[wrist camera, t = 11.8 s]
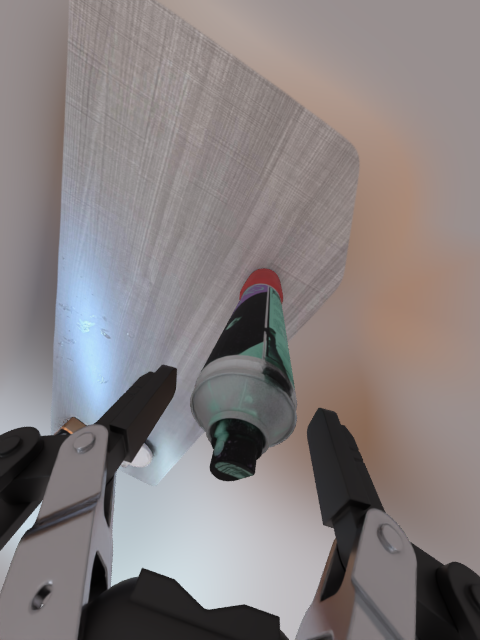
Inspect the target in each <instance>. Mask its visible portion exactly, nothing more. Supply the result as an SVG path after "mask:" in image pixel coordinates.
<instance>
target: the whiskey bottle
mask: <svg viewBox="0 0 480 640" xmlns="http://www.w3.org/2000/svg"><path fill="white" fill-rule="evenodd" d="M85 426H86V425H84V424H83V423H81V422H80V421H79V420H77V419H76V418H73V417H72V418H71V419H70V420H69V421H68V422H67V423H65V424H64V425H63V426H62V427H61V428H60V429H59V430H58V431H57V432H56V433H55V434H54V435H66V434H72V433H74V432H75V431H77V430H79V429H80V428H83V427H85Z"/></svg>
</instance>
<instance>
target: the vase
mask: <svg viewBox="0 0 480 640" xmlns="http://www.w3.org/2000/svg"><path fill="white" fill-rule="evenodd" d="M152 457H153V455H152V452H151V450H150V449H149V447H148V446H147V445H146V444H145V443H144V444H143V445H142V447H141V449H140V450H139V452H138V453H137V455H136V456H135V458H134V460H133V461H132V463H129V462H126V461H123V462H122V463H121V466H122V467H124V468H126V467H127V465H131V466H134V467H145V466H147V465H149V464H150V463H151V461H152Z"/></svg>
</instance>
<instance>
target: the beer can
mask: <svg viewBox="0 0 480 640" xmlns="http://www.w3.org/2000/svg"><path fill="white" fill-rule="evenodd" d="M255 284H267V285H270V286H272V287H273V288H274V289H275V290H276V291H277V292H278V294H279V296H280V298H281V305H282V302H283V293H282V288H281V284H280V280H279V278H278V275H277V274H276V273H275V272H274V271H272V270H270V269H265V268H263V269H258V270H256V271H254V272H253V273H252V274H251V275H250V276H249V278H248V279H247V281H246V282H245V284H244V286H243V287H242V289H241V292H240V298H239V299H241V297H242V295H243V294H244V292H245V291H246V290H247V289H248V288H249V287H251V286H253V285H255Z"/></svg>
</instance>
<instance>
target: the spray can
mask: <svg viewBox="0 0 480 640" xmlns="http://www.w3.org/2000/svg"><path fill="white" fill-rule="evenodd" d="M190 407H191V412H192V414H193V416H194V419H195V420H196V422H197V423H198V425H199V426H200V427H201V428H202V429H203V430H204V431H205V432H206V435H207V438H208V440H209V441H210V443H211V445H212V447H213V449H214V451H213V455H212V459H211V463H210V471H211V473H212V474H213V475H214V476H215V477H216V478H218V479H219V480H223V481H235V480H239V479H242V478H246V477H249V476H253V475H254V474H255V467H256V460H257V459H258V458H260V456H261V455H262V454H263V453H265V452H266V451H267V449H268V448H269V447H273V446H275V445H278V444H280V443H282V442H283V441H285V440H286V439H287V438H288V437H289V436H290V435H291V434H292V432H293V431H294V428H295V426H296V421H297V415H296V408H297V400H296V393H295V387H294V381H293V374H292V368H291V362H290V356H289V349H288V343H287V336H286V330H285V324H284V317H283V311H282V305H281V298H280V296H279V294H278V292H277V291H276V290H275V289H274V288H273V287H272V286H270V285H267V284H255V285H253V286H251V287H249V288H248V289H247V290H246V291H245V292H244V294H243V295H242V297H241V299H240V301H239V303H238V305H237V307H236V308H235V310H234V312H233V314H232V316H231V318H230V319H229V321H228V323H227V325H226V327H225V329H224V330H223V332H222V334H221V336H220V338H219V340H218V342H217V343H216V345H215V347H214V349H213V351H212V353H211V354H210V356H209V358H208V360H207V362H206V364H205V365H204V367H203V369H202V371H201V373H200V375H199V377H198V378H197V381H196V384H195V388H194V390H193V393H192V396H191V399H190Z"/></svg>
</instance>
